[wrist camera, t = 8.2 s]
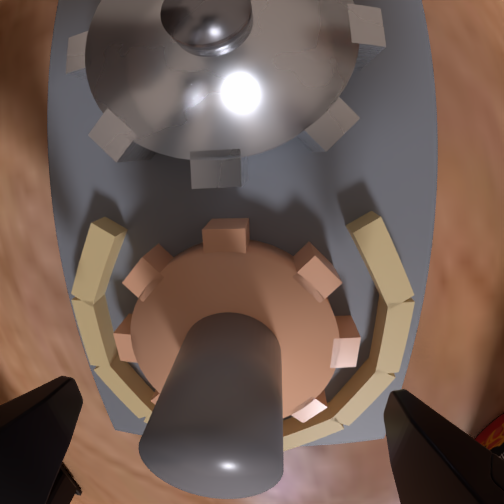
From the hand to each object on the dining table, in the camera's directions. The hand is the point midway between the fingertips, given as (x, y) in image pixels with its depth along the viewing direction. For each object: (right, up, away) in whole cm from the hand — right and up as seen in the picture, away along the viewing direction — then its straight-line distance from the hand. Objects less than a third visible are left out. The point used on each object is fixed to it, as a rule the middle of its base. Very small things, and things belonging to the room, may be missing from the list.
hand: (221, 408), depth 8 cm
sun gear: (0, +10, +1) cm, 10 cm away
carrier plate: (0, +5, +4) cm, 6 cm away
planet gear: (0, +1, +4) cm, 4 cm away
